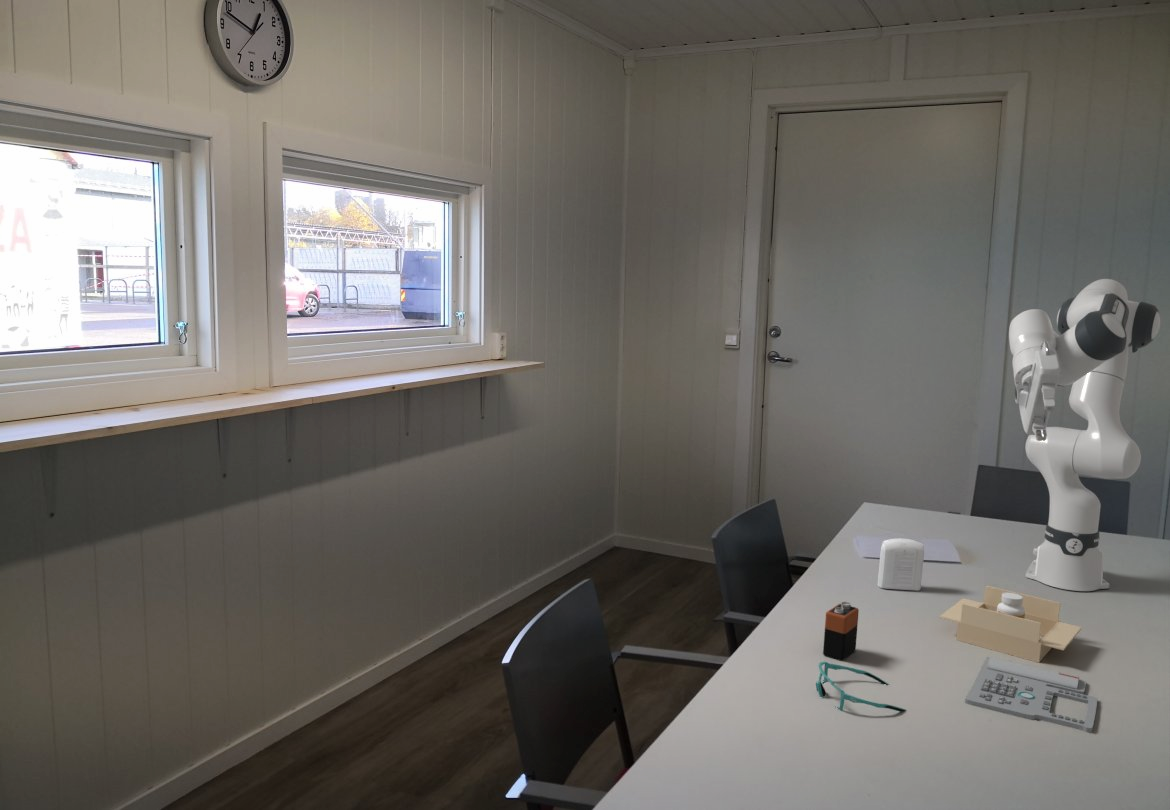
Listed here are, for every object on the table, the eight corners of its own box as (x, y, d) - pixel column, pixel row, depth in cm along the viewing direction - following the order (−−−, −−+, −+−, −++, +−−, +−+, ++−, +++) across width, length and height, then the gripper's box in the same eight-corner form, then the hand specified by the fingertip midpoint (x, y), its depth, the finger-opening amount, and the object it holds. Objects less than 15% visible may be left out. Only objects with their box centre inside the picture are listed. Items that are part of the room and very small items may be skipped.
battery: (856, 651, 184) (860, 603, 182) (842, 661, 178) (846, 613, 177) (835, 645, 186) (839, 598, 185) (821, 655, 181) (825, 607, 180)
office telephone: (986, 649, 182) (1101, 675, 171) (985, 662, 182) (1099, 688, 172) (965, 691, 162) (1093, 723, 152) (964, 705, 162) (1091, 738, 152)
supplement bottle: (1025, 646, 189) (1029, 601, 187) (997, 643, 190) (1001, 598, 188) (1018, 636, 194) (1022, 592, 193) (991, 633, 195) (995, 590, 194)
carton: (962, 614, 206) (965, 580, 204) (1080, 644, 190) (1084, 608, 189) (937, 634, 194) (940, 598, 192) (1061, 668, 178) (1065, 629, 177)
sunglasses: (806, 678, 171) (810, 653, 170) (885, 689, 171) (889, 664, 170) (823, 714, 157) (828, 686, 157) (909, 726, 157) (914, 699, 156)
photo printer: (917, 586, 224) (922, 537, 222) (923, 592, 220) (927, 542, 218) (875, 584, 225) (879, 535, 223) (879, 589, 221) (883, 540, 219)
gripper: (1063, 336, 179) (1073, 388, 171) (1046, 403, 194) (1054, 455, 186) (1028, 336, 181) (1036, 388, 173) (1013, 403, 196) (1020, 454, 188)
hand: (1045, 423), depth 179 cm, fingers open, 8 cm apart
